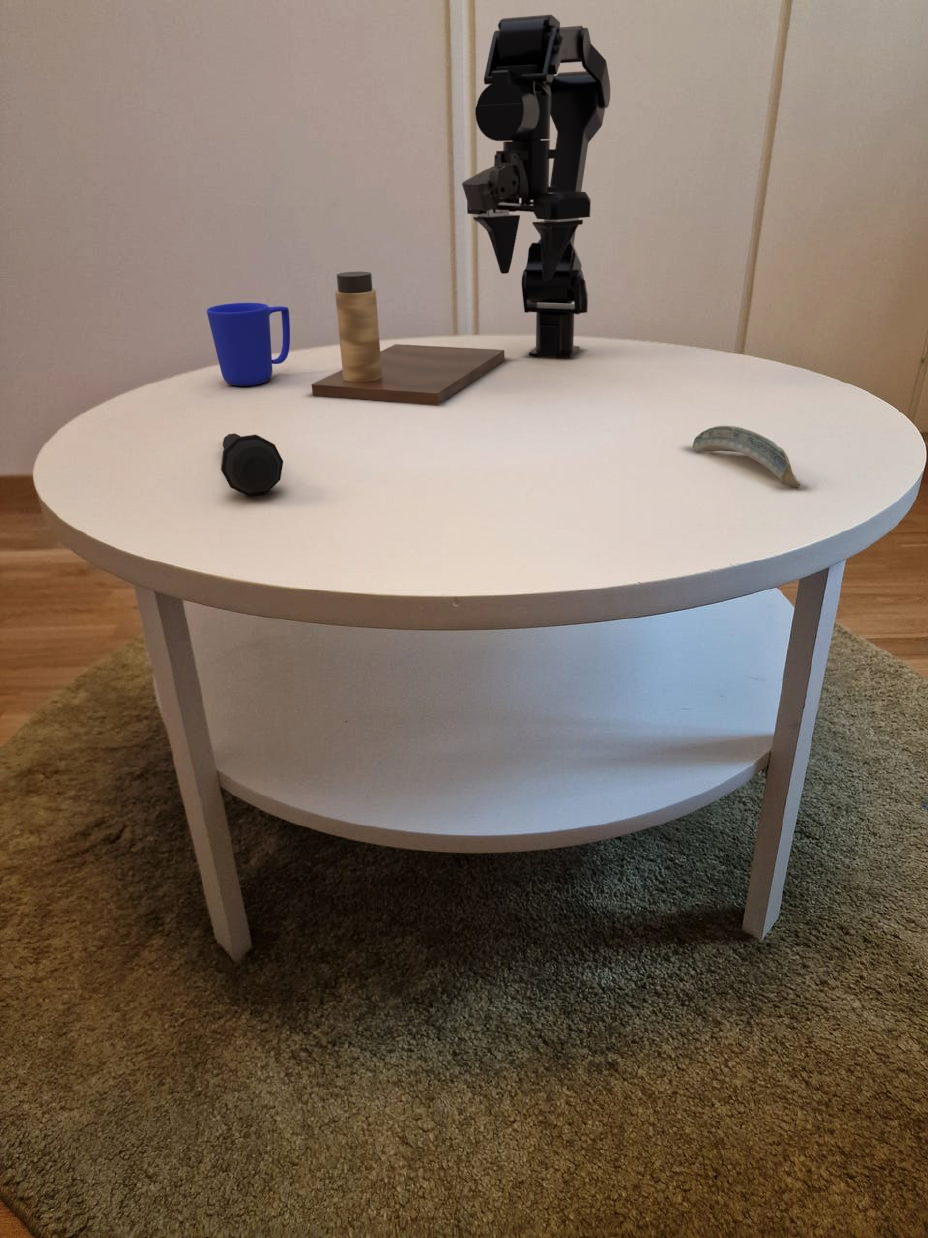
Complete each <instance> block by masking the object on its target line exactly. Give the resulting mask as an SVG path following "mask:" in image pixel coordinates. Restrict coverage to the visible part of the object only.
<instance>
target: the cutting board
mask: <svg viewBox="0 0 928 1238" xmlns="http://www.w3.org/2000/svg"><path fill="white" fill-rule="evenodd" d="M505 351H506V350H505V349H495V348H494V349H493V348H477V347H476V348H475V347H456V346H455V347H454V346H439V345H438V346H436V345H420V344H398V343H396V344H392V345H391V346H389V347H387V348H384V349H383V350H380V354H381V367H382V378H380V379H378V380H375V381H369V382H349V381H346V380H344V379H343V370H342V369H341V370H338V371H336V372H334V373H332V374H329V375H328V376H326V377H324V378H322V379H320V380H318V381H315V382H313V383H312V384H311V391H312V392H311V393H312V396H314V397H315V396H317V397H325V398H326V397H327V398H340V399H341V398H342V399H356V400H364V401H365V400H366V401H379V402H393V403H406V404H418V405H430V406H431V405H432V406H433V405H434V406H439V405H440V404H442V403H443V402H445V401H446V400H448V399H449V398H451V397H453V395H455V394H457V393H458V392H459V391H461V390H462V389H464V388H465V387H467V386H468V385H470V384H471V383H473V382H474V381H476V380H478V379H479V378H480V377H482V376H483V375H485V374H486V373H488V372H489V371H491V370H492V369H494V368H495V367H496V366H498V365H499V364H501V363H502V362H504V361H505V358H506V357H505V355H506V354H505V353H506V352H505Z"/></svg>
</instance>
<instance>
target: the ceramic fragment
mask: <svg viewBox="0 0 928 1238" xmlns="http://www.w3.org/2000/svg"><path fill="white" fill-rule="evenodd" d="M691 448H692V449H693V450H694V451H697V452H704V453H705V452H706V453H707V452H731V453H732V452H733V453H740V454H742V455H745V456H747V457H748V458H751V459H752V460H754V461H756V462H758V463H759V464H760V465H762V466H764V467H765V468H766V469H768V470H769V471H770V472H772V473H773V474H774V475H775V476H776V477H777V478H779V479H780V480H781V481H782V482H783V483H785V484H787V485H788V486H792V487H794V488H799V487H801V485H802V484H801V482H800V481H799V480H798V478H797V476H796V475H795V474H794V472H793V470H792V465H791V462H790V459H789V456H788V454H787V452H785V450H784V449H783V448H782V447H781V446H779V445H777V443H775V442H774V441H773V440H771V439H769V438H768V437H765V436H764V435H762V434H759V433H758V432H755V431H752V430H749V429H746V428H744V427H740V426H735V425H717V426H714V427H709V428H707V429H706V430H703V431H701V432H700V433H699V434H697V435H696V436H695V437H694V439H693V442H692V447H691Z"/></svg>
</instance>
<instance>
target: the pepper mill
mask: <svg viewBox="0 0 928 1238" xmlns="http://www.w3.org/2000/svg"><path fill="white" fill-rule="evenodd" d="M336 283H337V290H335V291H334V296H335V297H334V298H335V307H336V317H337V327H338V337H339V338H338V339H339V348H340V358H341V370H343V379H344V380H346V381H349V382H369V381H375V380H378V379H380V378H382V367H381V354H380V351H381V342H380V328H379V314H378V300H377V290H376V288H374V287H373V277H372V272H370V271H345V272H340V273H337V274H336Z"/></svg>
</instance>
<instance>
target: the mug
mask: <svg viewBox="0 0 928 1238" xmlns="http://www.w3.org/2000/svg"><path fill="white" fill-rule="evenodd" d="M277 312H280V313H281V325H282V326H281V327H282V345H281V352H280V354H279V355H278V357H277V358H275V359H273V357H272V338H271V323H270V316H271V315H272V314H273V313H277ZM206 315H207V317H208V323H209V327H210V332H211V335H212V339H213V344H214V347H215V352H216V355H217V356H216V357H217V360H218V364H219V369H220V373H221V376H222V378H223V380H224V382H225V383H227V384H229V385H232V386H237V387H248V386H257V385H261V384H265V383H266V382H269V380H271V378H272V375H273V365H279V364H280V365H281V364H282V363H285V361H286V360H287V358H288V357H289V356H288V355H289V353H290V347H291V346H290V345H291V326H290V325H291V324H290V323H291V322H290V310H289V307H288V306H281V305H280V306H279V305H278V306H269V305H268V304H266V303H261V302H232V303H225V304H224V303H223V304H217V305H214V306H211V307H208V308H207V309H206Z"/></svg>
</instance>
